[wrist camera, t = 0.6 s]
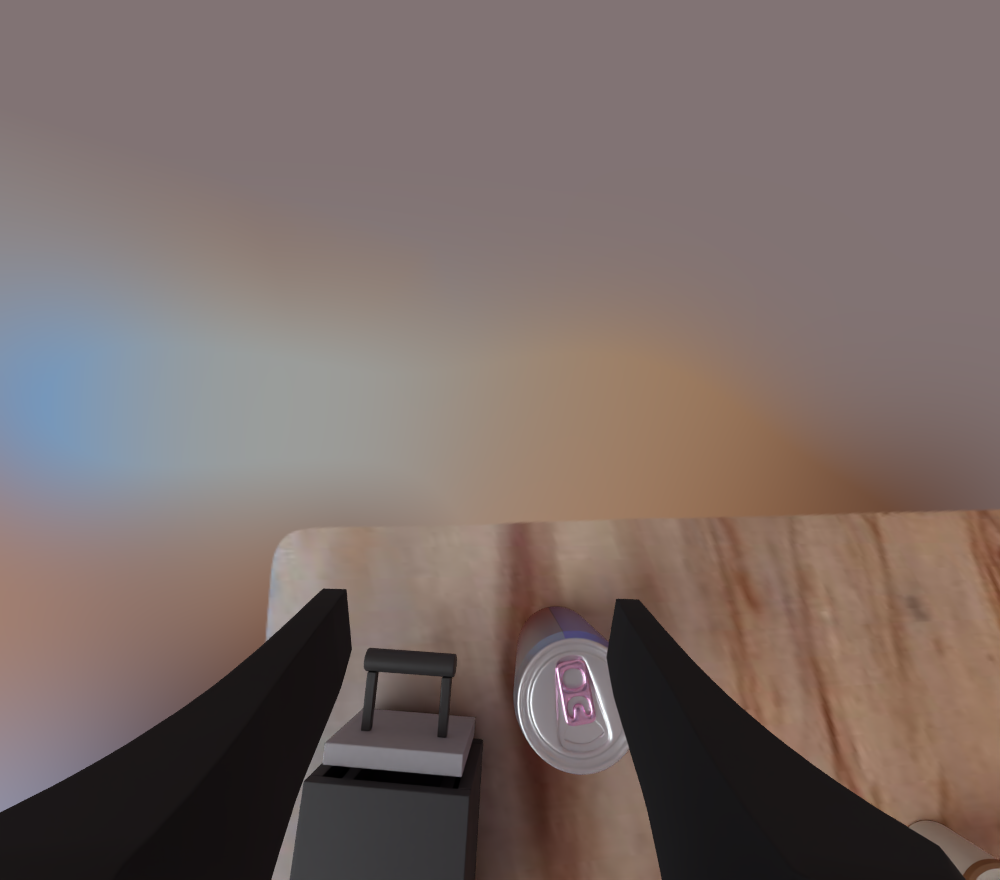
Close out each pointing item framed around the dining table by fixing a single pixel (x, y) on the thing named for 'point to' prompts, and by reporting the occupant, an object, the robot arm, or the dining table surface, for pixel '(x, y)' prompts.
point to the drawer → (404, 729)
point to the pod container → (960, 851)
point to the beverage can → (567, 693)
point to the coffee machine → (387, 827)
